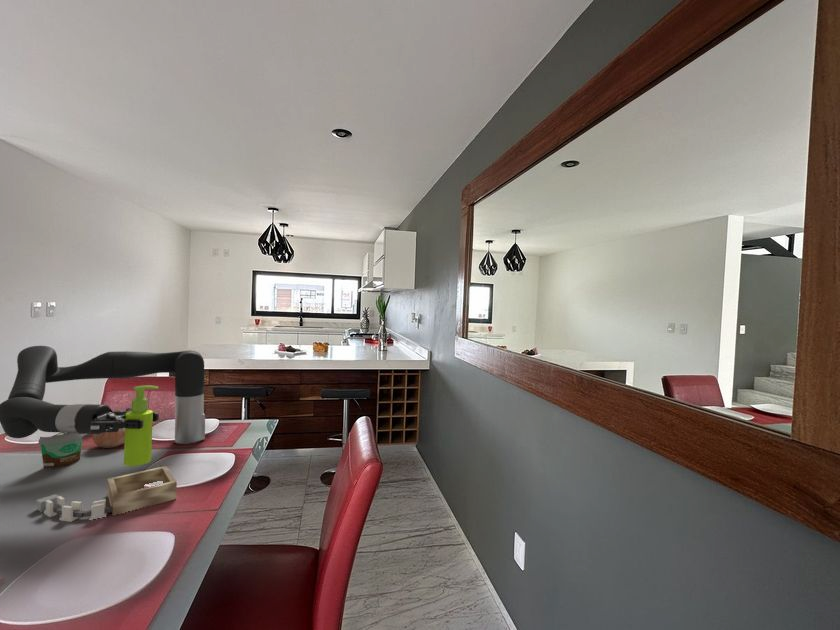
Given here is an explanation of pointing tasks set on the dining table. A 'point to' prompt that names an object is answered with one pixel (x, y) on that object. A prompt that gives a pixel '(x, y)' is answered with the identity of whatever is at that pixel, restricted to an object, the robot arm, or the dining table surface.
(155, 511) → the dining table surface
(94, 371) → the robot arm
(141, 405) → the soap dispenser
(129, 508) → the open square wooden frame
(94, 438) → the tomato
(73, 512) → the cable route
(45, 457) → the food container
